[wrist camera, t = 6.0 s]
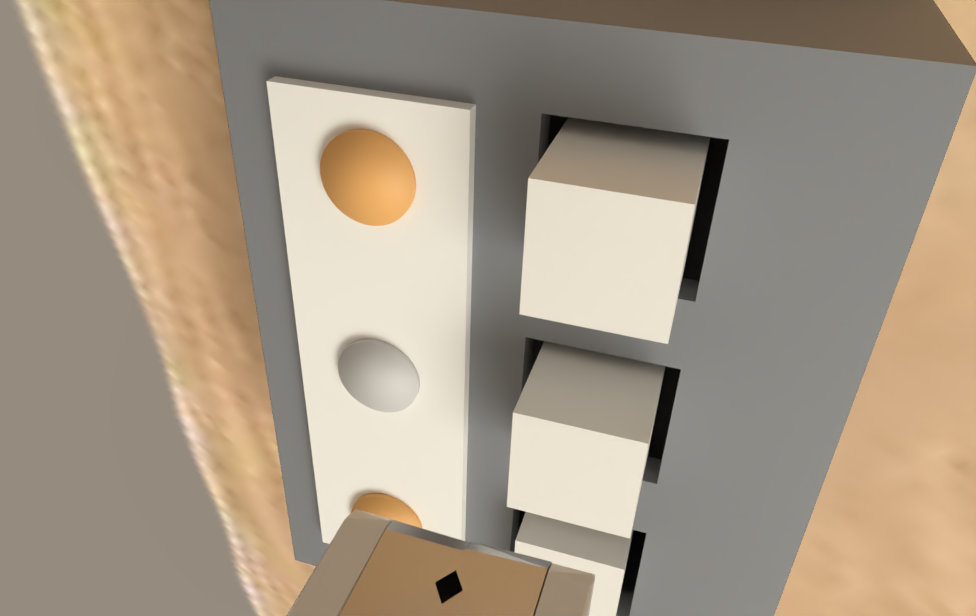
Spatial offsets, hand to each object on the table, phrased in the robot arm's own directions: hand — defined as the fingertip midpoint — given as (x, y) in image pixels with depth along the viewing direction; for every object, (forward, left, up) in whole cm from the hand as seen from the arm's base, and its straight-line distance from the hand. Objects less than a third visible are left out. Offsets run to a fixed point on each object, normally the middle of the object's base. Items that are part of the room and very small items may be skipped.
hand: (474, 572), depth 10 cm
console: (+6, -2, -17) cm, 18 cm away
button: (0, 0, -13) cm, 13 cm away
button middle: (+6, 0, -13) cm, 14 cm away
